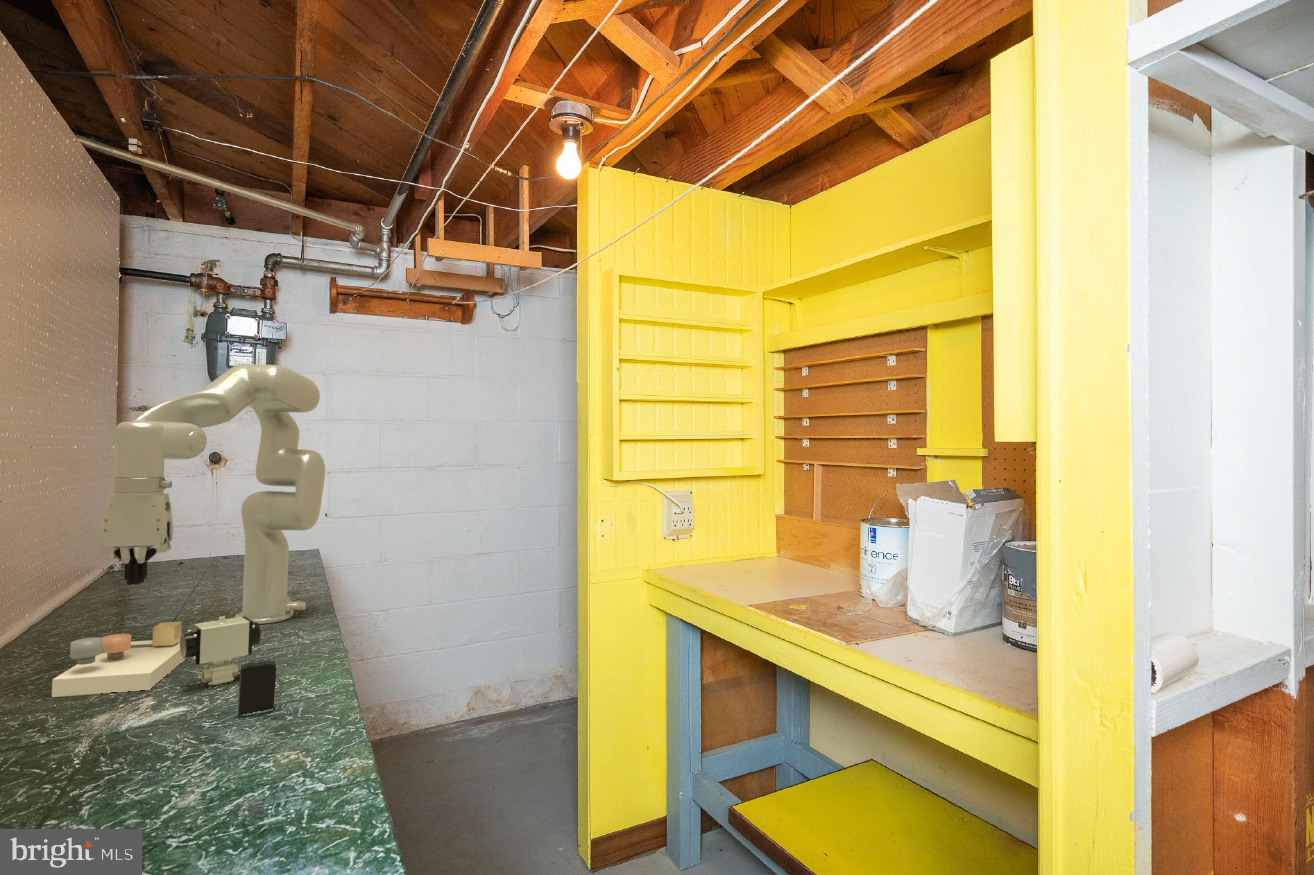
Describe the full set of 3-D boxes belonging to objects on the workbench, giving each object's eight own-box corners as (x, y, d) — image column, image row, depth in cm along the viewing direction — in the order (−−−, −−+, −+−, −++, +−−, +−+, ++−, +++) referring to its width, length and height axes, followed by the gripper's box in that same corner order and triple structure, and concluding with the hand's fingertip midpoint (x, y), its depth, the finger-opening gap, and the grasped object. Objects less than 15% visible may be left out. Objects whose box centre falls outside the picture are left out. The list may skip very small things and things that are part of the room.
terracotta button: (134, 652, 127) (135, 632, 127) (124, 660, 123) (125, 639, 123) (106, 654, 125) (107, 634, 125) (95, 661, 121) (96, 640, 121)
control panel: (193, 652, 138) (194, 637, 138) (149, 690, 117) (150, 672, 117) (112, 657, 134) (113, 642, 134) (51, 697, 113) (52, 679, 113)
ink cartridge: (272, 707, 111) (275, 659, 112) (273, 712, 109) (276, 663, 110) (237, 712, 109) (240, 663, 109) (238, 717, 107) (241, 667, 107)
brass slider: (181, 639, 136) (181, 621, 136) (173, 645, 132) (174, 626, 132) (160, 640, 135) (161, 622, 135) (152, 646, 131) (152, 628, 131)
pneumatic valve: (259, 678, 125) (261, 613, 125) (184, 694, 116) (187, 624, 116) (249, 670, 128) (251, 608, 129) (176, 685, 120) (179, 618, 120)
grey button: (107, 657, 120) (108, 636, 120) (95, 665, 116) (96, 643, 116) (77, 659, 119) (78, 638, 119) (64, 667, 115) (65, 645, 115)
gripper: (191, 485, 132) (188, 578, 132) (101, 485, 128) (98, 580, 128) (176, 488, 125) (173, 586, 125) (80, 488, 121) (77, 589, 120)
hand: (135, 583), depth 126 cm, fingers closed
